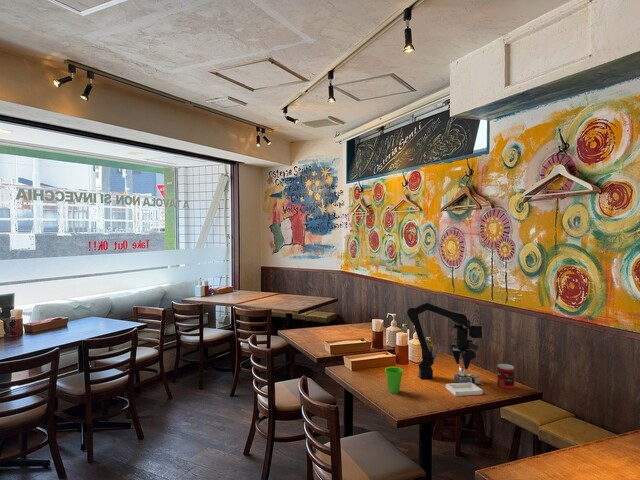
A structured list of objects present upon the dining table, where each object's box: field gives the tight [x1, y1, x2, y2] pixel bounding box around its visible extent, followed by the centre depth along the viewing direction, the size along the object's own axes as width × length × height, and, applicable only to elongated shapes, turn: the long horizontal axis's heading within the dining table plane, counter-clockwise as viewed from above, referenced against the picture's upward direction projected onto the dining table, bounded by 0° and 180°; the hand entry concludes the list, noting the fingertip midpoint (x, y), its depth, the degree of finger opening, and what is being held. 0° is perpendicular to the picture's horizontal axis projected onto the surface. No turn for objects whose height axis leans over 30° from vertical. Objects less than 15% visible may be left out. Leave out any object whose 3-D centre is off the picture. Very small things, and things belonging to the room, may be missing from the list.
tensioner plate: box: [452, 371, 485, 386], centre depth 214 cm, size 13×9×5 cm
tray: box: [445, 382, 484, 397], centre depth 202 cm, size 14×11×2 cm
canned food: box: [496, 363, 515, 391], centre depth 208 cm, size 8×8×11 cm
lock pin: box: [458, 364, 466, 377], centre depth 214 cm, size 3×3×9 cm
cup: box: [384, 366, 404, 395], centre depth 203 cm, size 9×9×11 cm
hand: (461, 366), depth 214 cm, fingers open, 9 cm apart
